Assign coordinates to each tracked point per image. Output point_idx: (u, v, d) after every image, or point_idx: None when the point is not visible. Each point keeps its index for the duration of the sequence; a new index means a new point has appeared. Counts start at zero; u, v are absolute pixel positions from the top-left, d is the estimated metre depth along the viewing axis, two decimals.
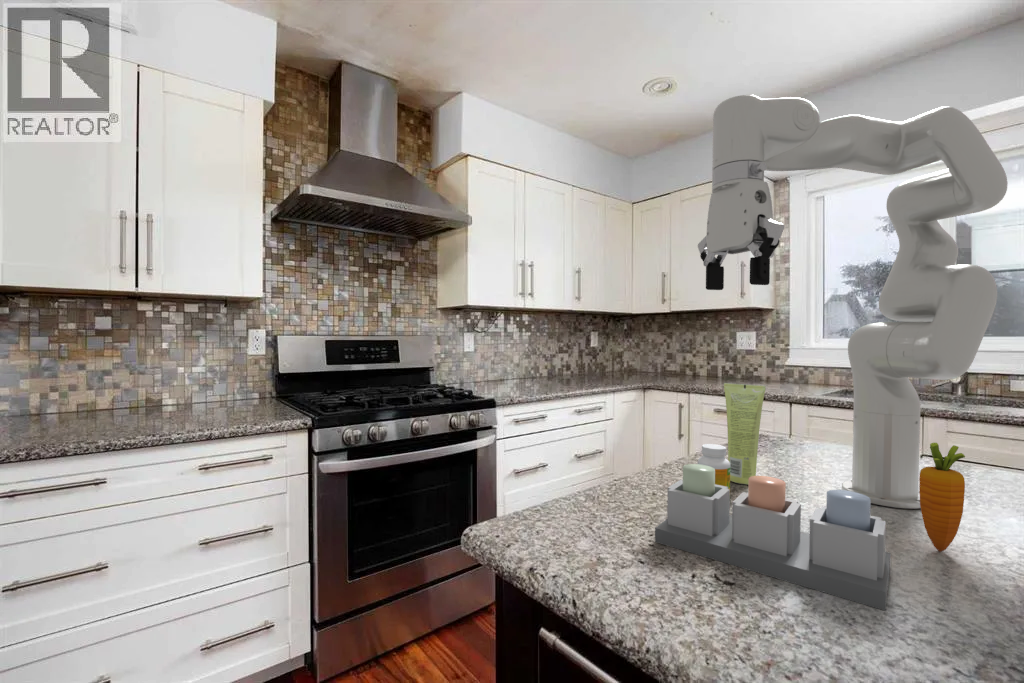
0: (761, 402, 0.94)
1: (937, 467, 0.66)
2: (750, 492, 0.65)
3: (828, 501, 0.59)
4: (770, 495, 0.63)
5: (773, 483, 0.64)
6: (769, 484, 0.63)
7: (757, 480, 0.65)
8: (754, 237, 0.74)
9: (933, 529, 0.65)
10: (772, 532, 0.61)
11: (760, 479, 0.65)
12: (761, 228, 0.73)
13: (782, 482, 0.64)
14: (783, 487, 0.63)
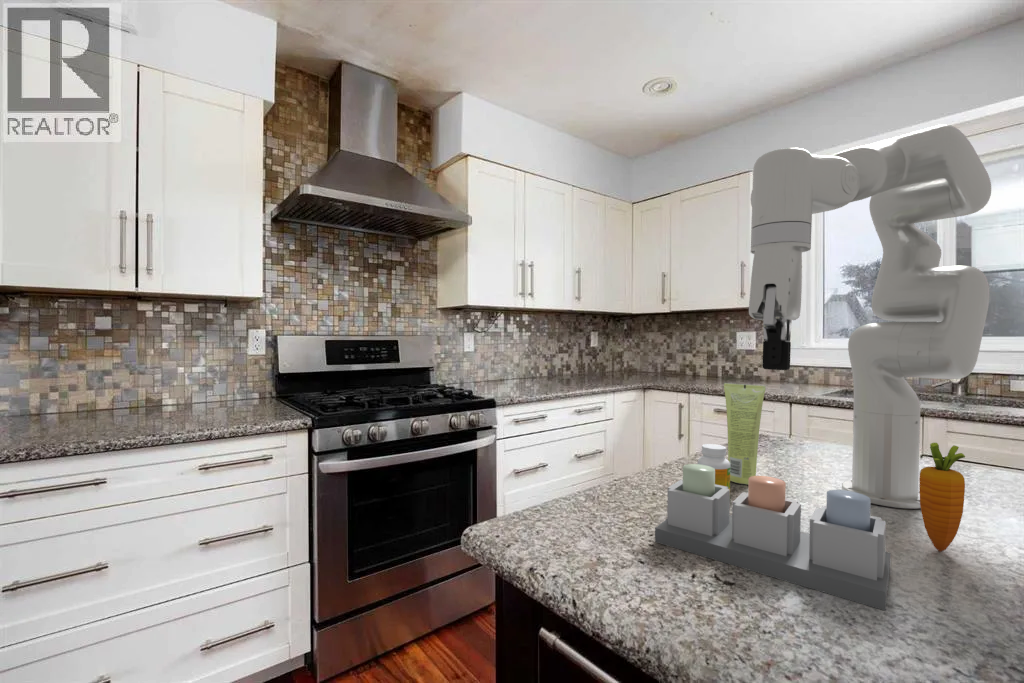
0: (761, 402, 0.94)
1: (937, 467, 0.66)
2: (750, 492, 0.65)
3: (828, 501, 0.59)
4: (770, 495, 0.63)
5: (773, 483, 0.64)
6: (769, 484, 0.63)
7: (757, 480, 0.65)
8: (780, 310, 0.71)
9: (933, 529, 0.65)
10: (772, 532, 0.61)
11: (760, 479, 0.65)
12: None
13: (782, 482, 0.64)
14: (783, 487, 0.63)
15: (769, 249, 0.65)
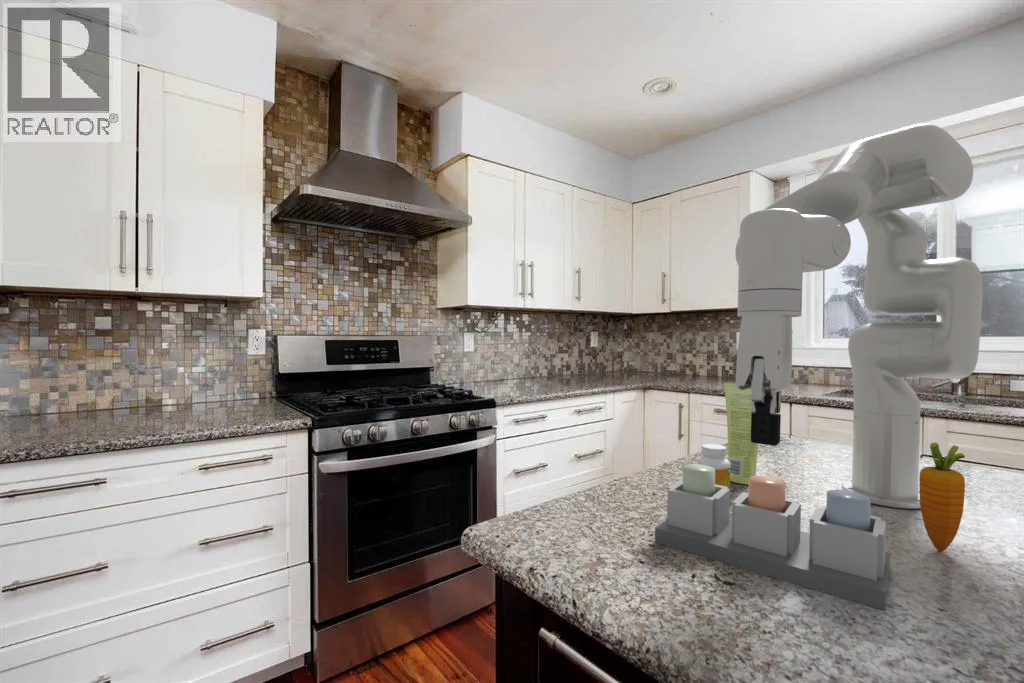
0: None
1: (937, 467, 0.66)
2: (750, 492, 0.65)
3: (828, 501, 0.59)
4: (770, 495, 0.63)
5: (773, 483, 0.64)
6: (769, 484, 0.63)
7: (757, 480, 0.65)
8: None
9: (933, 529, 0.65)
10: (772, 532, 0.61)
11: (760, 479, 0.65)
12: None
13: (782, 482, 0.64)
14: (783, 487, 0.63)
15: (757, 318, 0.61)
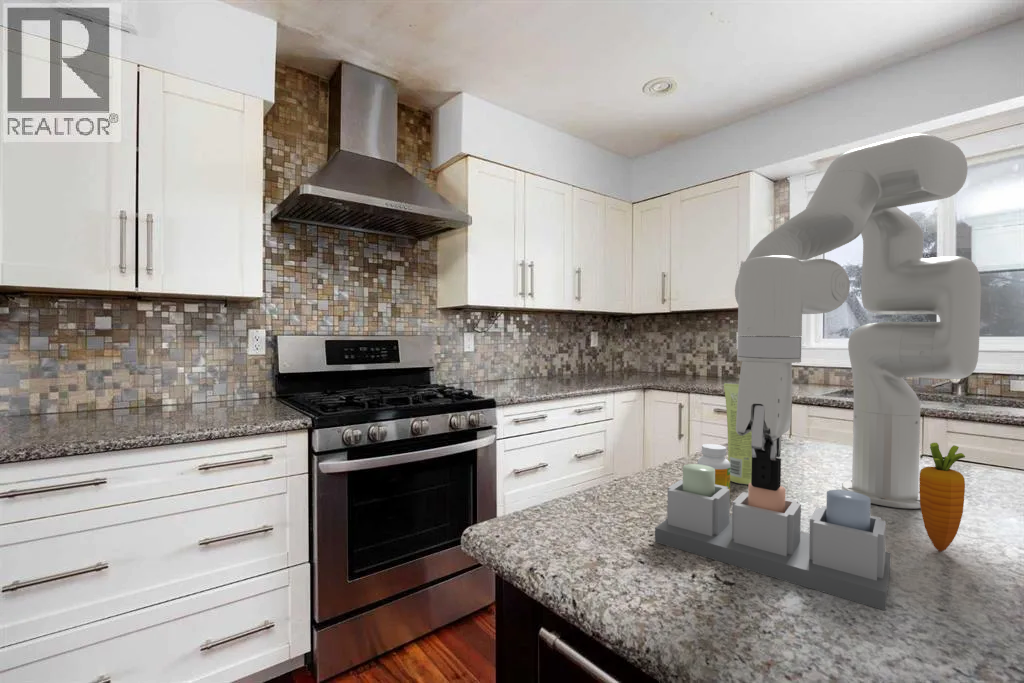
0: None
1: (937, 467, 0.66)
2: (750, 498, 0.65)
3: (828, 501, 0.59)
4: (770, 502, 0.63)
5: None
6: (769, 490, 0.63)
7: None
8: None
9: (933, 529, 0.65)
10: (772, 532, 0.61)
11: None
12: None
13: (782, 488, 0.64)
14: (782, 493, 0.63)
15: (756, 366, 0.61)
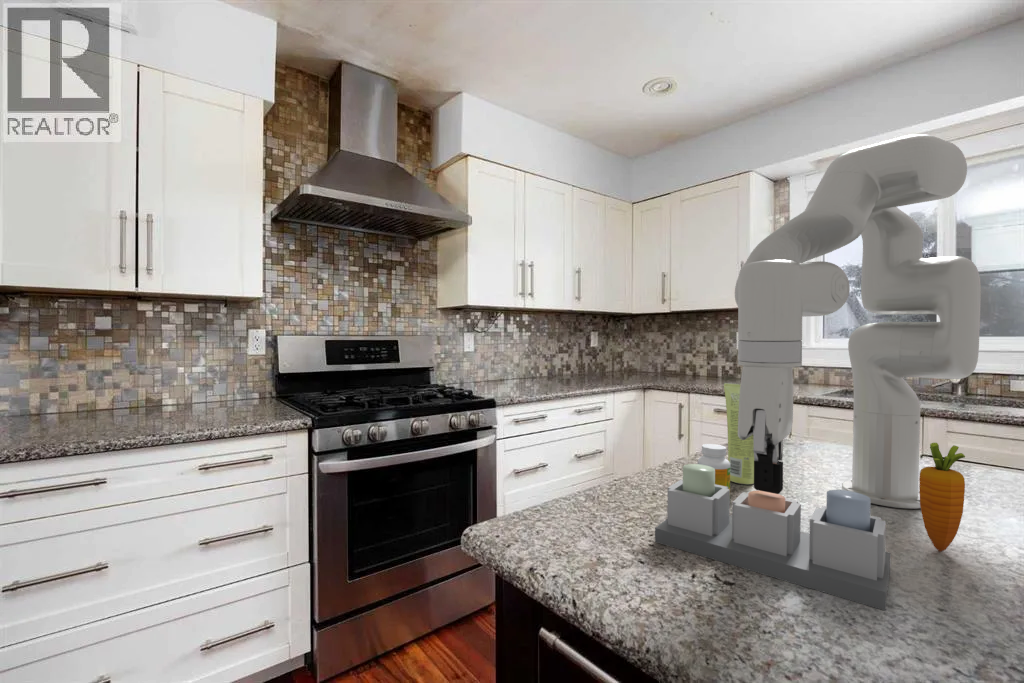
0: None
1: (937, 467, 0.66)
2: None
3: (828, 501, 0.59)
4: None
5: (772, 498, 0.64)
6: (769, 500, 0.63)
7: (757, 495, 0.65)
8: None
9: (933, 529, 0.65)
10: (772, 532, 0.61)
11: (759, 494, 0.65)
12: None
13: (782, 498, 0.64)
14: (782, 502, 0.63)
15: (757, 371, 0.61)
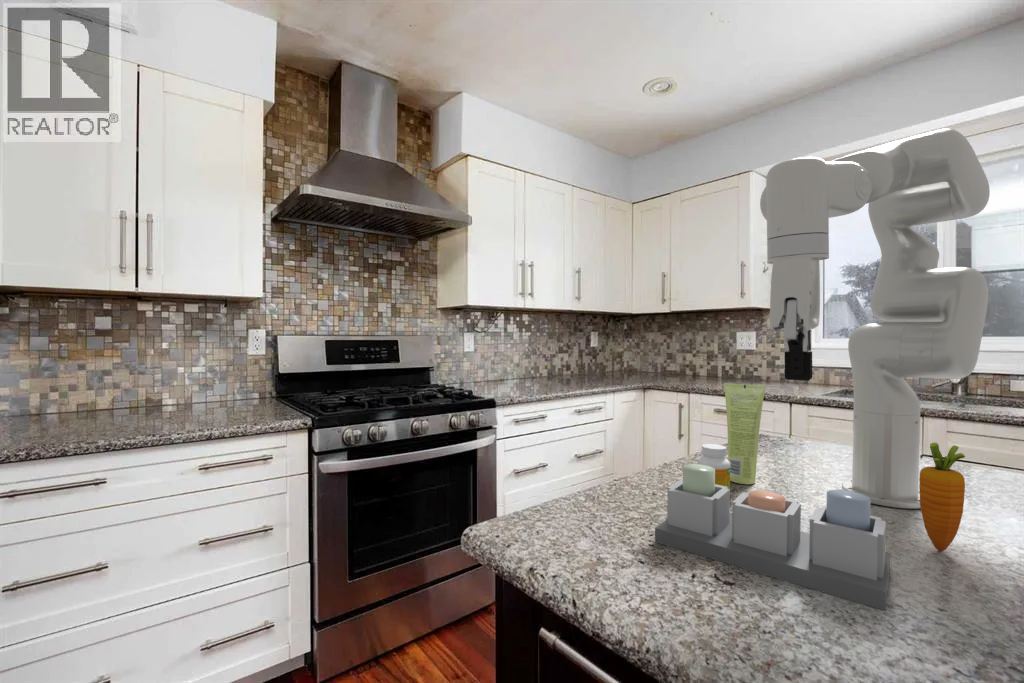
0: (761, 402, 0.94)
1: (937, 467, 0.66)
2: None
3: (828, 501, 0.59)
4: None
5: (772, 498, 0.64)
6: (769, 500, 0.63)
7: (757, 495, 0.65)
8: None
9: (933, 529, 0.65)
10: (772, 532, 0.61)
11: (759, 494, 0.65)
12: None
13: (782, 498, 0.64)
14: (782, 502, 0.63)
15: (788, 262, 0.65)
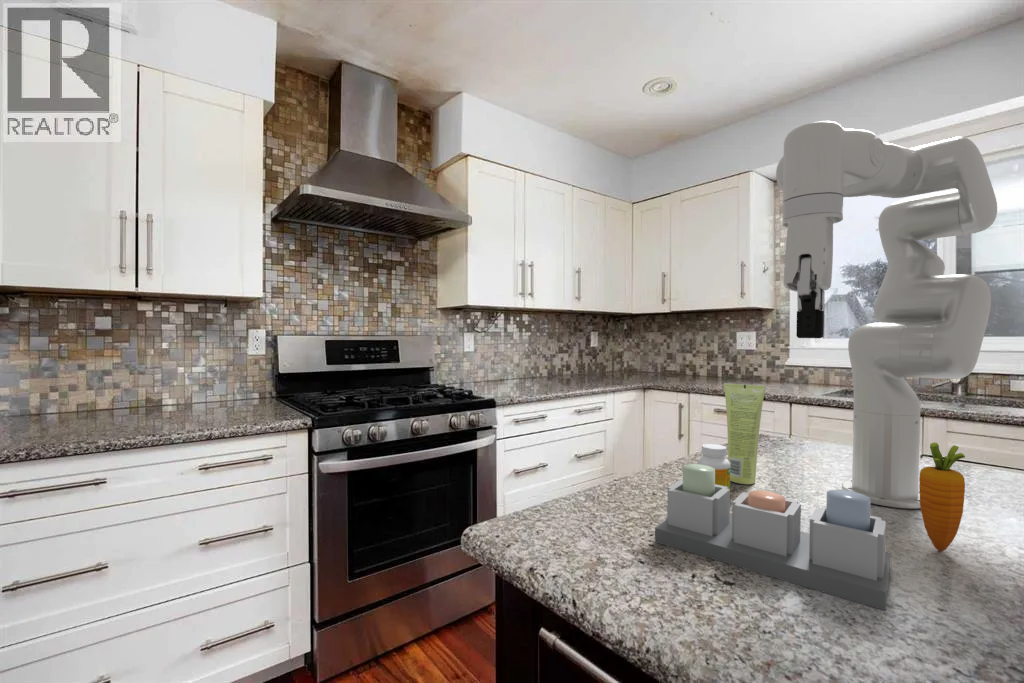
0: (761, 402, 0.94)
1: (937, 467, 0.66)
2: None
3: (828, 501, 0.59)
4: None
5: (772, 498, 0.64)
6: (769, 500, 0.63)
7: (757, 495, 0.65)
8: None
9: (933, 529, 0.65)
10: (772, 532, 0.61)
11: (759, 494, 0.65)
12: None
13: (782, 498, 0.64)
14: (782, 502, 0.63)
15: (803, 221, 0.67)
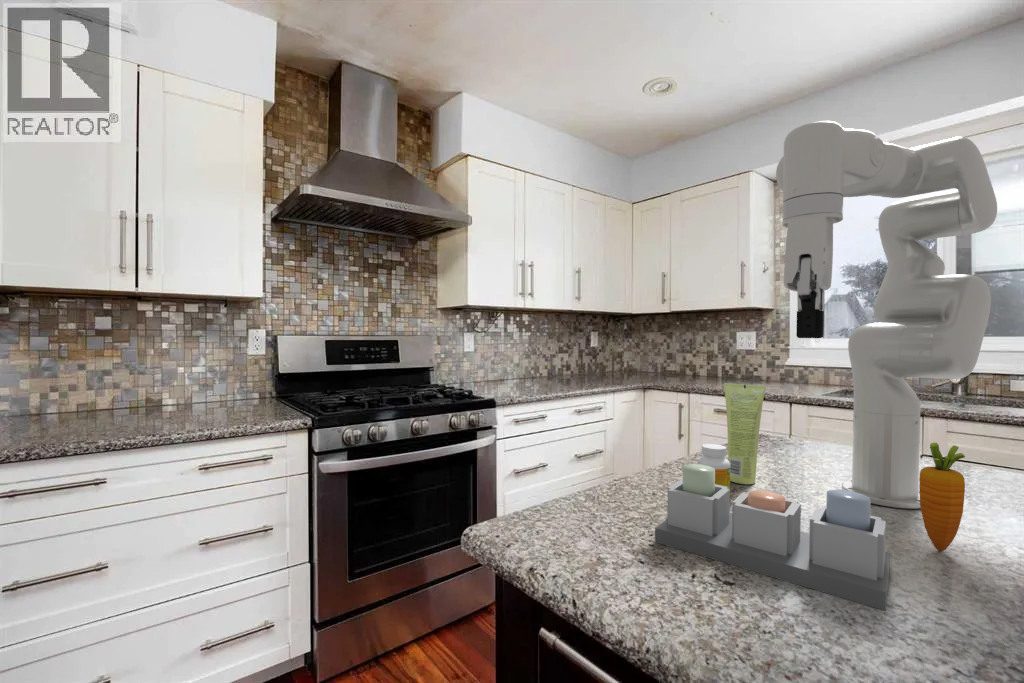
0: (761, 402, 0.94)
1: (937, 467, 0.66)
2: None
3: (828, 501, 0.59)
4: None
5: (772, 498, 0.64)
6: (769, 500, 0.63)
7: (757, 495, 0.65)
8: None
9: (933, 529, 0.65)
10: (772, 532, 0.61)
11: (759, 494, 0.65)
12: None
13: (782, 498, 0.64)
14: (782, 502, 0.63)
15: (803, 221, 0.67)
